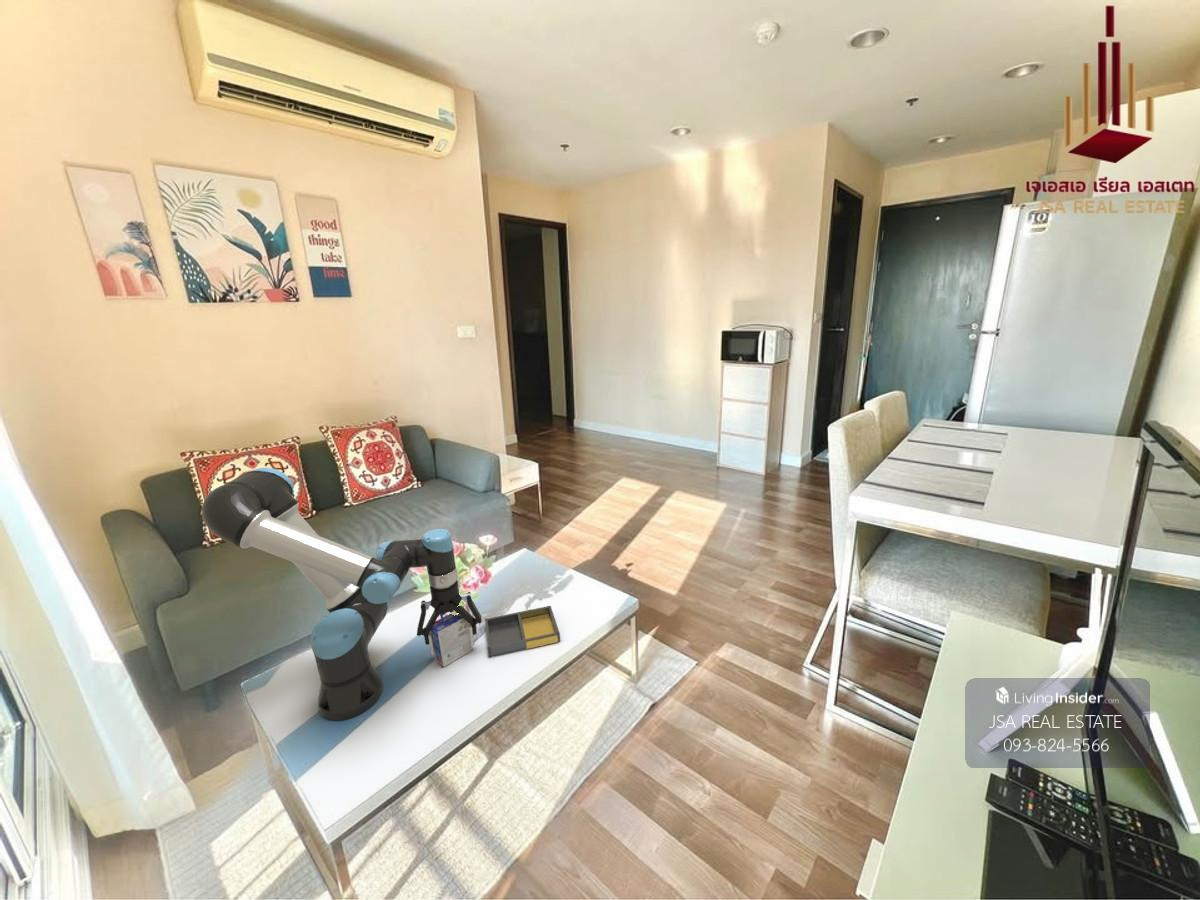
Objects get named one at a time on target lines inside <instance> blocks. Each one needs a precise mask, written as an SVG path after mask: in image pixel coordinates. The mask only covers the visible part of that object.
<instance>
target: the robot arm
mask: <svg viewBox="0 0 1200 900" xmlns="http://www.w3.org/2000/svg"><path fill="white" fill-rule="evenodd" d="M294 488H295V486H294V483H293V481H292V479H290V477H289V476H288V475H286V473H284V472H283V471H280V470H278V469H276V468H270V467H260V468H259V467H258V468H255V469H252V470H250V471H247V472H245V473H243V474H241V475H239V476H237V477H236V478H234V479H232V480H231V481H228V482H227V483H225V484H223V485H220V486H218V487H216V488H215V489H213V490H212V491H211V492H209V494H207V496H206V497H205V499H204V501H203V503H202V507H201V517H202V519H203V522H204V524H205V525H206V527H207V528H208V529H209V531H210V532H211V533H212V534H214V535H215V536H216V537H218V538H219V539H221V540H222V541H225V542H226V543H229V544H231V545H233V546H235V547H238V548H241V549H248V548H250V547H252V548H255V549H258V550H260V551H262V552H265V553H268V554H270V555H273V556H275V557H279V558H281V559H283V560H287V561H288V562H292V563H293V564H294V565H295V568H297V569H298V570H299V571H300V572H301V573H302V575H304V576H305V577H306V579H307V580H309V582H310V583H311V584H312V585H313V587H314V588H316V590H317V591H319V593H321V595H322V596H323V597H324V599H326V603H325V609H326V610H327V611H328V615H324V616H323V617H322V618H320V619H319V620H318V621H317V622H316V624H315V625H314V626H313V628H312V630H311V635H310V640H311V641H310V642H311V643H310V644H311V650H312V652H313V655H314V658H315V663H316V666H317V669H318V674H319V678H320V689H319V693H318V694H319V695H318V701H317V705H318V710H319V714H320V715H321V716H322V717H323V718H325V719H327V720H330V721H343V720H344V721H345V720H348V719H351V718H354V717H356V716H358V715H360V714H361V715H362V713H365V712H366V711H367V710H369V709H370V708H371V707H372V706H374V705H375V704H376V703H377V701H379V698H380V697H381V696H382V693H383V690H384V683H383V679H382V676H381V674H380V673H379V671H378V670H377V669H376V667H375V666H374V665H373V664H372V662H371V656H370V651H369V644H370V642H371V640H372V639H373V637H374V635H375V634H376V632H377V630H378V629H379V627H380V626H381V624H382V622H383V621H384V619H385V618H386V616H387V612H388V610H389V607H390V601H391V600H392V599H393V597H394V595H395V594H396V593H397V591H399V590H400V587H401V585H402V583H403V581H404V580H405V578H406V576H407V574H408V572H409V571H410V569H412V568H424V567H426V569H427V577H428V582H429V590H430V595H431V599H430V600H428V601H426V600H422V601H421V602H420V612H421V613H420V616H419V620H418V625H417V630H416V635H417V636H419V637H420V636H423V637H424V642H425V645H427V646H428V645H429V649H430V654H431V656H435V651H434V645H433V640H432V634H431V629H432V626H433V625H434V623H435V621H437V619H438V618H439V617H440V613H442V614H443V613H445V614H446V612H447V613H451V612H454V611H455V612H456V613H459V614H460V615H461V616H462V617H463V618H464V619H465V620H466V621H467V622H468V623H469V630H470V638H471V645H472V647H475V638H474V635H477V633H478V632H477V625H478V624H481V623H482V614H481V613H480V612H479V609H478V608H477V606H476V604H475V603H474V600H473V599H472V593H471V592H470V591H468V593H467V592H466V593H465V594H461V596H460V595H459V593H460V589H459V581H458V571H457V566H456V559H455V552H454V551H455V550H454V543H453V539H452V534H451V532H450V531H449V530H448V529H445V528H435V529H431V530H428V531H426V532H425V533H424V534H423V535H422V538H420V539H405V540H403V539H402V540H399V539H397V540H391V541H390V540H389V541H384V542H382V543H380V544H379V546H378V548H377V549H378V550H377V551H376V558H375V557H373V556H371V555H368V554H365V553H363V552H360V551H358V550H356V549H353V548H350V547H348V546H346V545H343V544H340V543H338V542H336V541H333V540H331V539H328V538H325V537H323V536H320V535H319V534H318V533H317V532H316V530H314V529H313V528H312V526H311V525H310V524H309V523H308V522H307V521H306V520H305V519H304V517H303V516H302V515H301V514H300V512H299V502H298V501H297V500H296V498H295V497H294V494H295V490H294ZM450 572H451V573H450ZM448 573H449V574H448ZM442 575H443V576H442ZM462 600H463V601H464V603H466V604H467V607H468V609H469V610H470V612H471V613H472V614H471V613H470V612H469V611H467V609H466V608H464V606H462V605H461V606H458V605H459V603H460V604H461V602H462ZM457 606H458V607H457ZM430 607H432V608H433V609H434V610H433V612H432V614H431V616H430V618H429V619H428V621H427V624H426V625H425V620H426V615H427V611H428V610H429V609H430ZM424 625H425V626H424Z"/></svg>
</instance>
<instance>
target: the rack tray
mask: <svg viewBox="0 0 1200 900" xmlns="http://www.w3.org/2000/svg"><path fill="white" fill-rule="evenodd" d="M484 622H485V633H486V642H487V652H488V658H494V657H499V656H503V655H507V654H511V653H515V652H520V651H524V650H529V649H535V648H538V647H541V646H547V645H551V644H552V645H553V644H555V643H560V642H561V633H560V630H559V627H558V624H557V622H556V618H555V615H554V611H553V609H552V607H551V605H546V606H542V607H536V608H533V609H528V610H523V611H518V612H512V613H508V614H502V615H499V616H497V615H496V616H494V617H492V616H491V617H488V618H484Z"/></svg>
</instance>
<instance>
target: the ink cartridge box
mask: <svg viewBox="0 0 1200 900" xmlns="http://www.w3.org/2000/svg"><path fill="white" fill-rule="evenodd" d="M446 613H448V612H446ZM446 613H443V614H442V613H440V615H439V617H440V618H439V619H438V620H437V619H436V621H435V623H434V625H433V626H432V629H431V634H432V640H433V645H434V656H435V660H436V662H437V663H439V664H440V666H441V667H443V668H445V667H447V666H448V665H449V664H451V663H453V662H455V661H456V660H458V659H460V658H461V657H463V656H465V655H466V654H468V653H470V652H472V651H473V646H472V645H471V638H470V630H469V623H468V622H467V621H466V620H465V619H464V618H463V617H462V616H461V615H460V614H458V615H455V616H454V615H452V614H450V613H449V615H448V614H447V615H445V614H446ZM444 615H445V616H444Z"/></svg>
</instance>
